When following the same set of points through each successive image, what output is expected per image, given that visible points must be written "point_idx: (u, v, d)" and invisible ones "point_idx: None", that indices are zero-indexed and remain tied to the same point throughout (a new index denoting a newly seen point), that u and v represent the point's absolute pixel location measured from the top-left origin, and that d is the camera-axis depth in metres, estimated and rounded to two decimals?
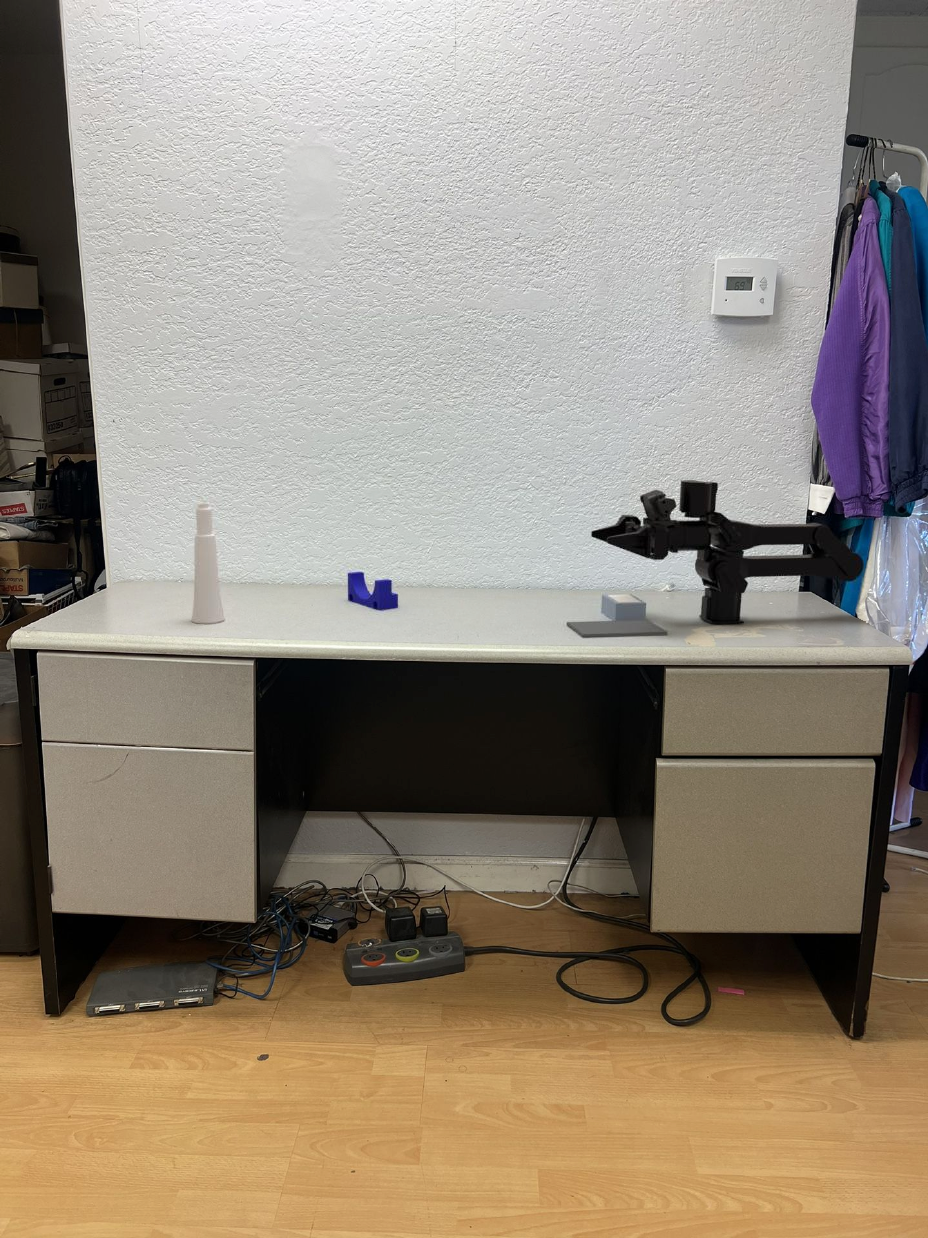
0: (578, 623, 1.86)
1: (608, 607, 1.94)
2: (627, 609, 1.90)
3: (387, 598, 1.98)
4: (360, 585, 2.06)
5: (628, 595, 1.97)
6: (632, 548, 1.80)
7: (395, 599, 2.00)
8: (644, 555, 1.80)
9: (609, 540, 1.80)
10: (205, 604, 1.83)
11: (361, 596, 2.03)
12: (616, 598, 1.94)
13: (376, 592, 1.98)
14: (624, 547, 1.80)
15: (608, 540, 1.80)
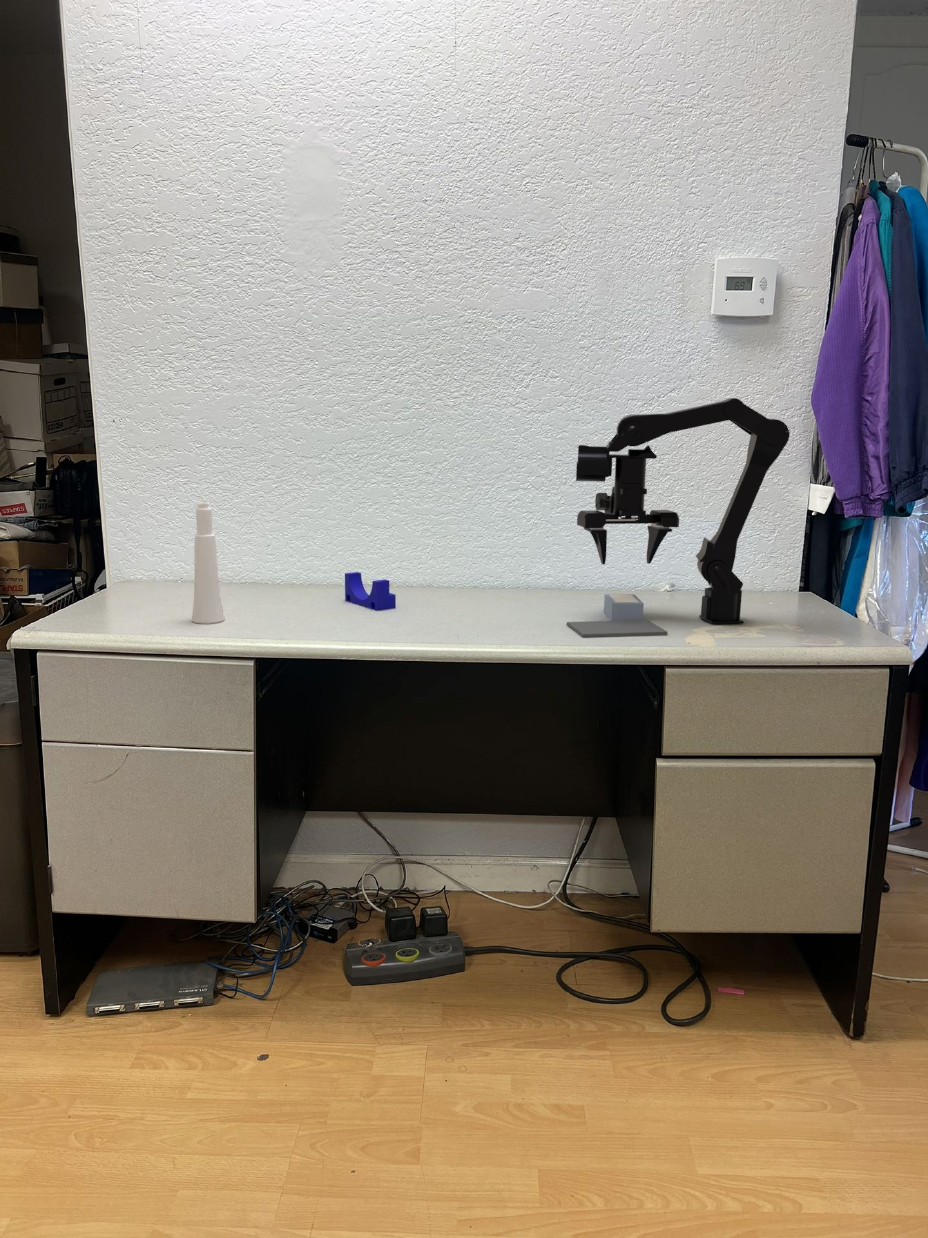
0: (578, 623, 1.86)
1: (607, 607, 1.94)
2: (624, 609, 1.90)
3: (385, 599, 1.98)
4: (357, 586, 2.05)
5: (630, 595, 1.97)
6: (599, 542, 1.89)
7: (393, 599, 1.99)
8: (596, 533, 1.87)
9: (601, 562, 1.91)
10: (205, 604, 1.83)
11: (358, 597, 2.03)
12: (616, 598, 1.94)
13: (374, 592, 1.97)
14: (600, 549, 1.90)
15: (602, 563, 1.92)
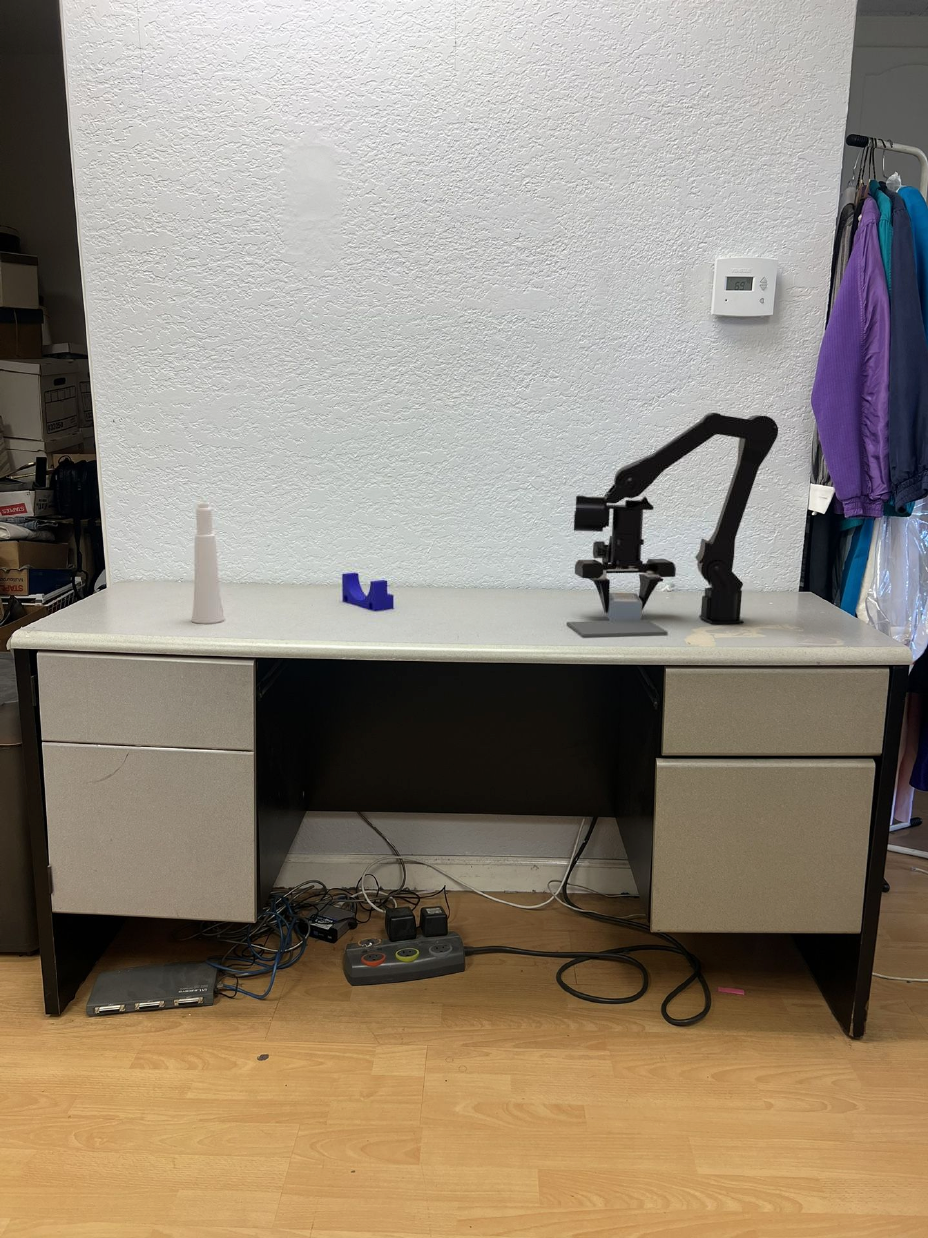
0: (578, 623, 1.86)
1: None
2: (622, 608, 1.90)
3: (383, 599, 1.98)
4: (355, 586, 2.05)
5: (631, 594, 1.96)
6: (602, 592, 1.91)
7: (391, 600, 1.99)
8: (599, 583, 1.90)
9: (604, 610, 1.94)
10: (205, 604, 1.83)
11: (356, 597, 2.02)
12: (616, 596, 1.94)
13: (372, 592, 1.97)
14: (603, 598, 1.92)
15: (604, 611, 1.94)
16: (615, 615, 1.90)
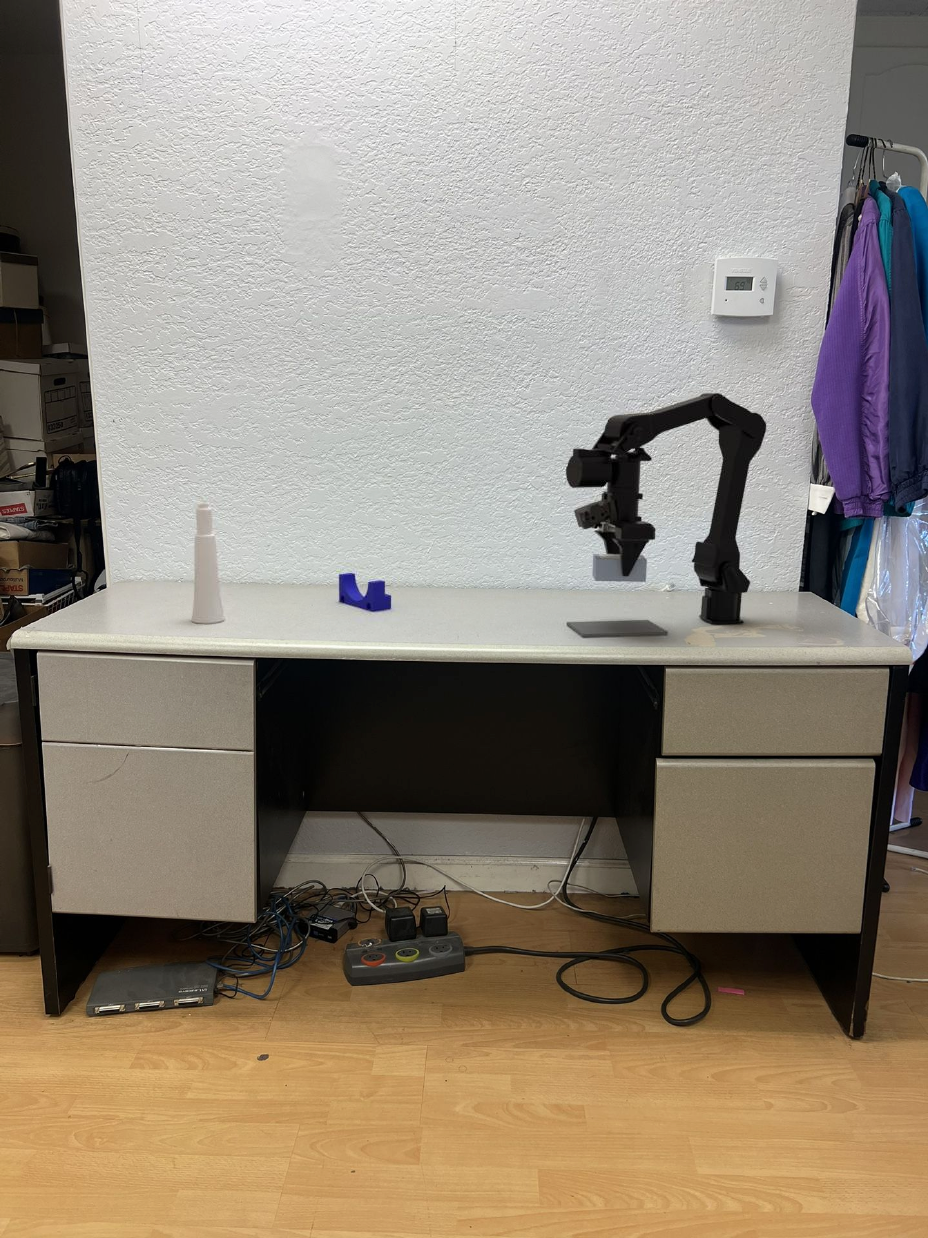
0: (578, 623, 1.86)
1: None
2: None
3: (380, 600, 1.97)
4: (351, 587, 2.04)
5: (603, 554, 1.83)
6: (636, 553, 1.76)
7: (388, 600, 1.98)
8: (645, 542, 1.75)
9: (626, 574, 1.78)
10: (205, 604, 1.83)
11: (353, 598, 2.02)
12: None
13: (370, 593, 1.96)
14: (634, 560, 1.77)
15: (625, 575, 1.78)
16: None
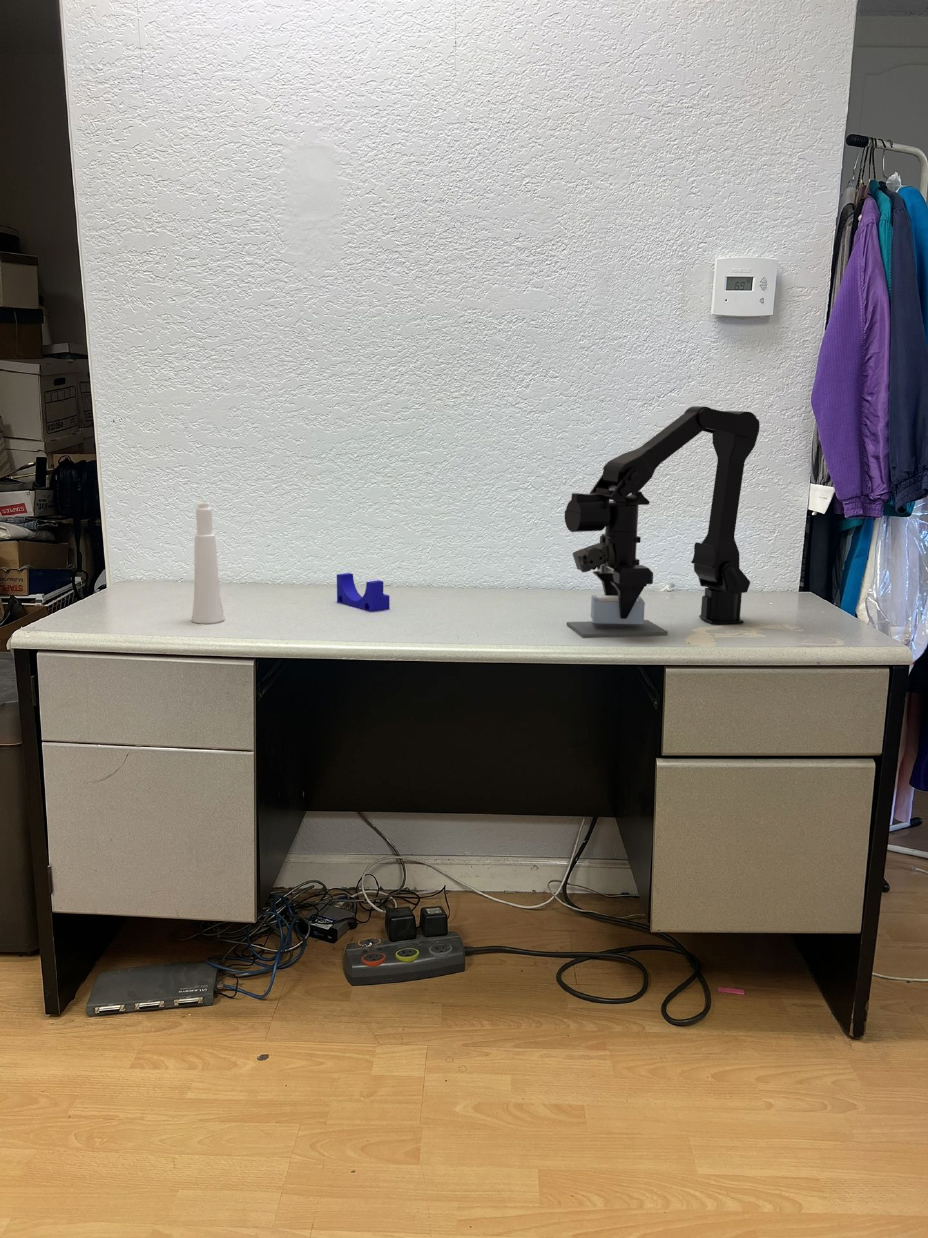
0: (578, 623, 1.86)
1: (619, 611, 1.80)
2: None
3: (379, 600, 1.97)
4: (349, 587, 2.03)
5: (602, 596, 1.84)
6: (634, 596, 1.78)
7: (387, 600, 1.98)
8: None
9: (624, 617, 1.79)
10: (205, 604, 1.83)
11: (351, 598, 2.01)
12: None
13: (368, 593, 1.96)
14: (632, 603, 1.78)
15: (624, 617, 1.80)
16: None
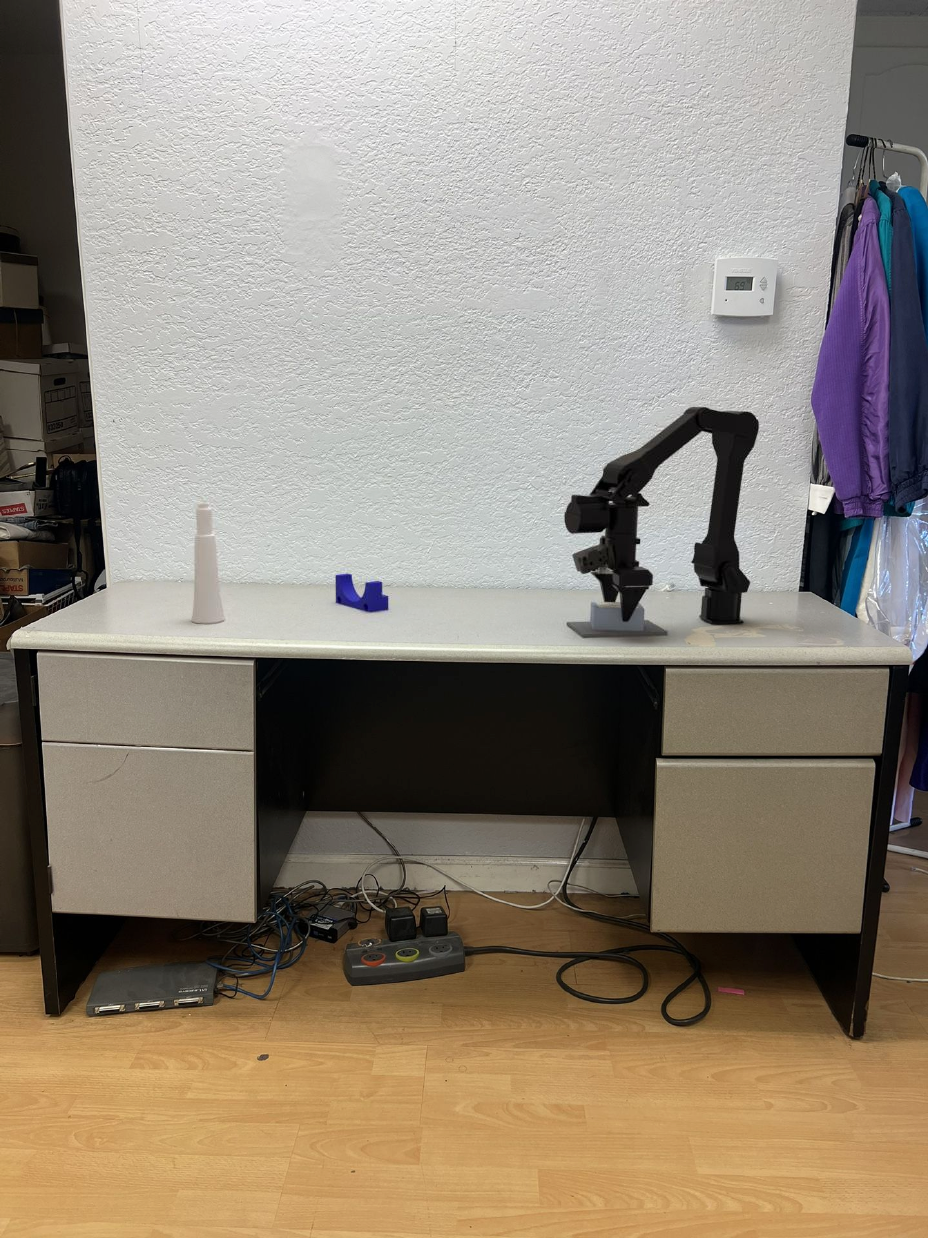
0: (578, 623, 1.86)
1: (619, 618, 1.80)
2: None
3: (378, 600, 1.96)
4: (348, 587, 2.03)
5: (601, 602, 1.85)
6: (636, 599, 1.77)
7: (386, 601, 1.98)
8: None
9: (626, 620, 1.78)
10: (205, 604, 1.83)
11: (350, 598, 2.01)
12: (618, 606, 1.81)
13: (367, 594, 1.96)
14: (634, 606, 1.77)
15: (625, 620, 1.79)
16: None
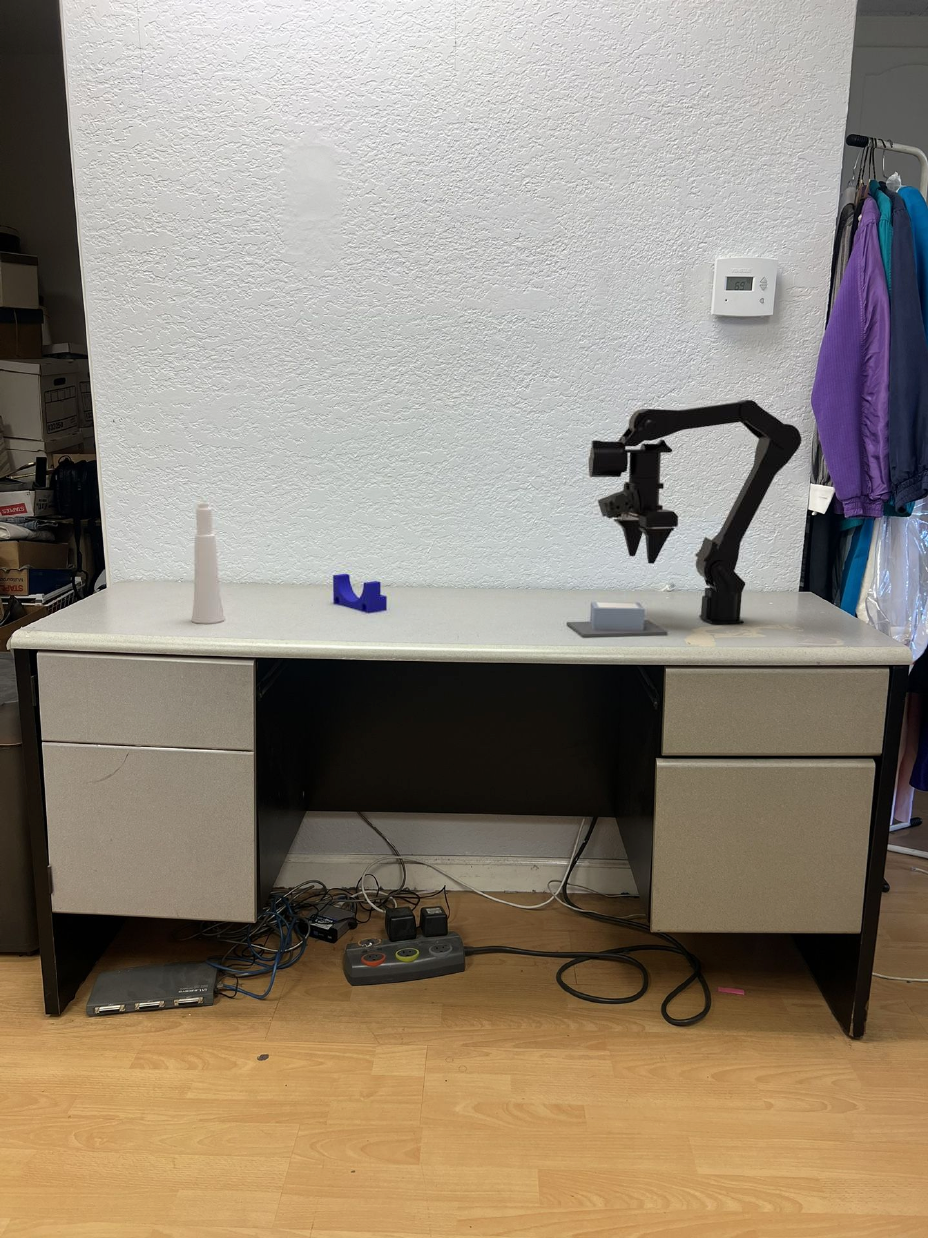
0: (578, 623, 1.86)
1: (619, 618, 1.80)
2: None
3: (376, 601, 1.96)
4: (346, 588, 2.03)
5: (601, 602, 1.85)
6: (661, 541, 1.84)
7: (384, 601, 1.97)
8: (670, 530, 1.82)
9: (651, 561, 1.85)
10: (205, 604, 1.83)
11: (348, 599, 2.00)
12: (618, 606, 1.81)
13: (365, 594, 1.95)
14: (660, 548, 1.84)
15: (651, 562, 1.85)
16: None
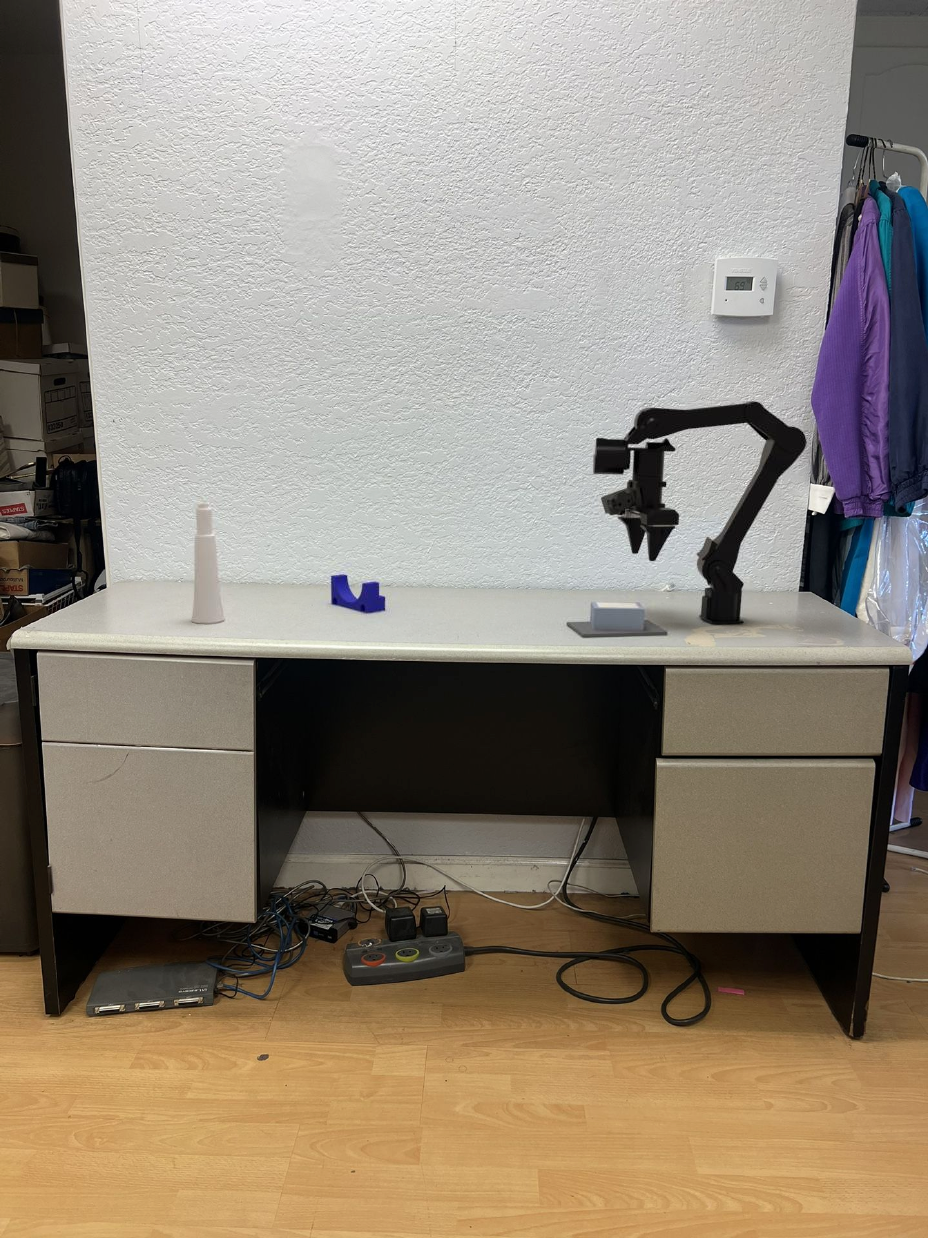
0: (578, 623, 1.86)
1: (619, 618, 1.80)
2: None
3: (375, 601, 1.96)
4: (344, 588, 2.02)
5: (601, 602, 1.85)
6: (663, 539, 1.85)
7: (382, 601, 1.97)
8: (671, 529, 1.84)
9: (652, 559, 1.86)
10: (205, 604, 1.83)
11: (346, 599, 2.00)
12: (618, 606, 1.81)
13: (364, 594, 1.95)
14: (661, 546, 1.85)
15: (652, 560, 1.87)
16: None
